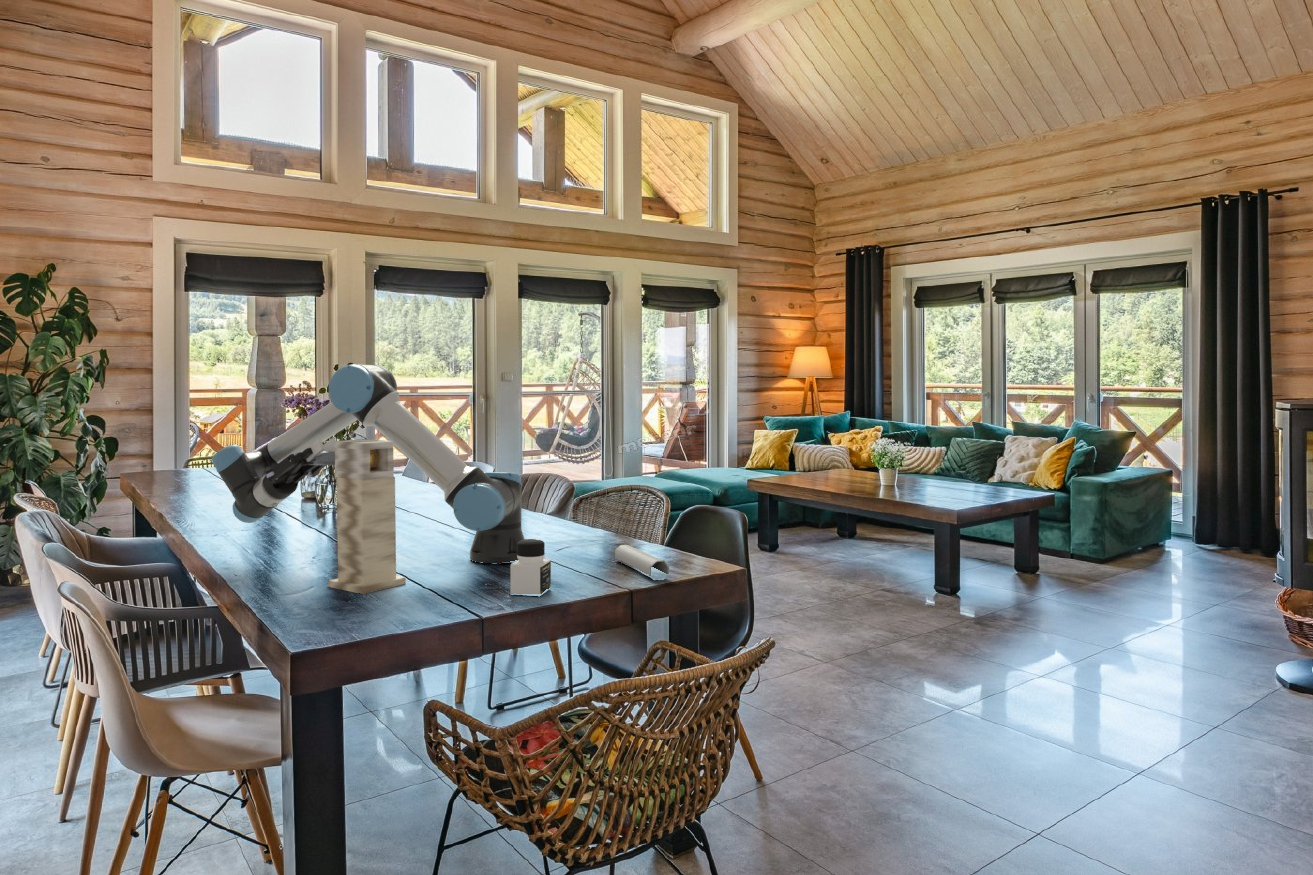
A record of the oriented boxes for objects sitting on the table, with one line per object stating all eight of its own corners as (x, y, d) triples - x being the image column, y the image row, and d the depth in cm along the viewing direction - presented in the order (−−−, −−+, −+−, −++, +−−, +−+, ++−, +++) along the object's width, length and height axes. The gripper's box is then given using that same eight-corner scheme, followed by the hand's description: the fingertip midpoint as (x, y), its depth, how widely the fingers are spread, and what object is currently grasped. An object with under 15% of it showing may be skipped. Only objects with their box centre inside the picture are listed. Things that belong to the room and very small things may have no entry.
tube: (608, 547, 231) (646, 565, 208) (626, 539, 233) (666, 556, 210) (614, 565, 232) (653, 585, 209) (632, 557, 234) (672, 576, 211)
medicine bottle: (540, 597, 193) (540, 543, 192) (510, 595, 194) (509, 542, 193) (551, 590, 200) (551, 537, 199) (521, 588, 201) (521, 536, 200)
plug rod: (292, 468, 212) (290, 450, 211) (308, 466, 215) (306, 448, 215) (363, 468, 198) (362, 449, 197) (379, 466, 201) (378, 447, 201)
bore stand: (328, 586, 201) (325, 441, 198) (371, 576, 211) (369, 438, 208) (363, 594, 194) (361, 444, 192) (405, 583, 204) (404, 441, 202)
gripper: (309, 496, 225) (361, 455, 213) (250, 503, 211) (303, 460, 200) (300, 469, 227) (351, 427, 215) (241, 475, 213) (292, 431, 201)
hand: (328, 443), depth 207 cm, fingers closed on plug rod, 3 cm apart
